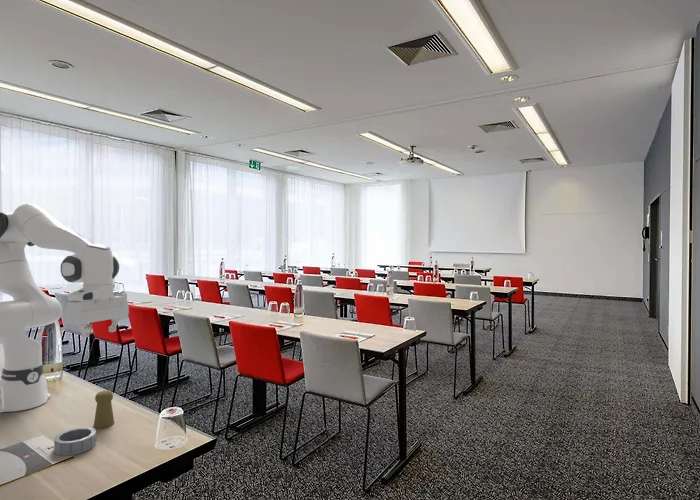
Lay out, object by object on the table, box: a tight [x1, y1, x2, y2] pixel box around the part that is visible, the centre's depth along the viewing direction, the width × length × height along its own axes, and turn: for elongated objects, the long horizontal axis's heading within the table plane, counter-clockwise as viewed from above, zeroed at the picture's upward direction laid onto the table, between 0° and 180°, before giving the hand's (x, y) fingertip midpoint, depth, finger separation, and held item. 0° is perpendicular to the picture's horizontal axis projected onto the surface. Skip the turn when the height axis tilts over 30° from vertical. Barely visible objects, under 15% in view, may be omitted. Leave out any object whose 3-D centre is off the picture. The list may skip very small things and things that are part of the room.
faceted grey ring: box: [53, 426, 97, 457], centre depth 128 cm, size 10×10×4 cm
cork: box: [93, 390, 115, 429], centre depth 144 cm, size 6×6×11 cm
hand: (99, 334), depth 144 cm, fingers open, 8 cm apart
